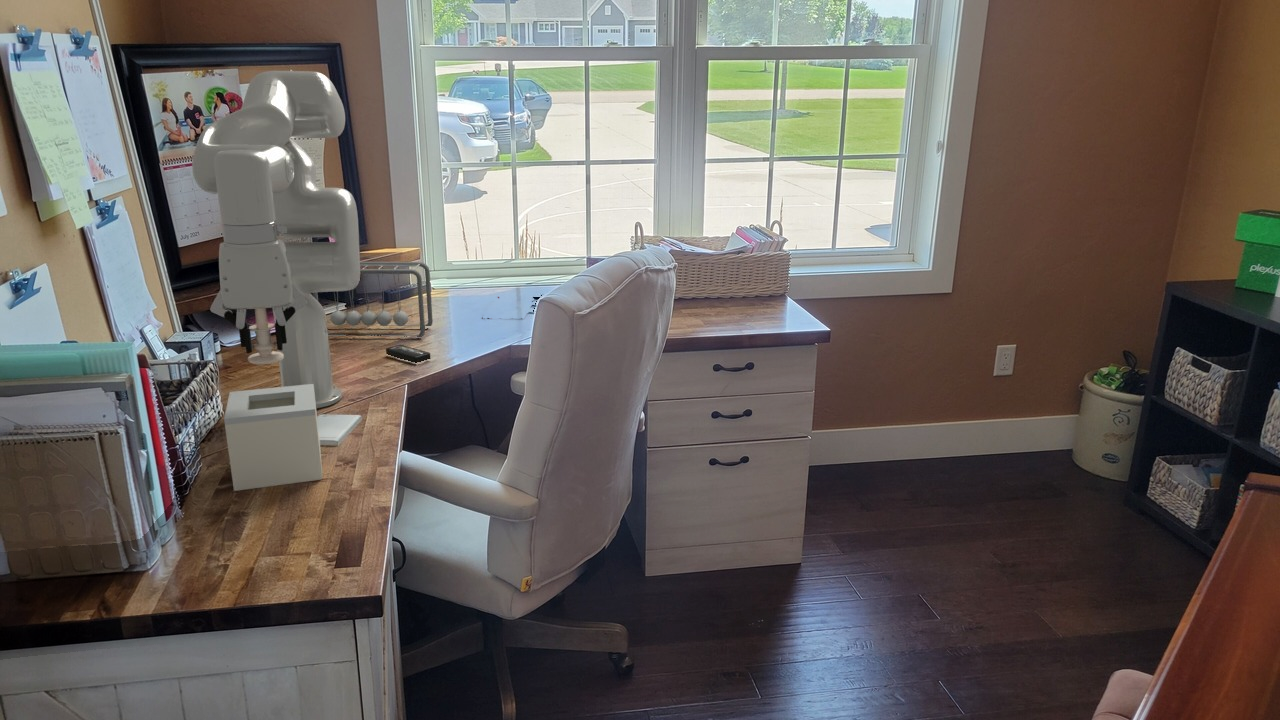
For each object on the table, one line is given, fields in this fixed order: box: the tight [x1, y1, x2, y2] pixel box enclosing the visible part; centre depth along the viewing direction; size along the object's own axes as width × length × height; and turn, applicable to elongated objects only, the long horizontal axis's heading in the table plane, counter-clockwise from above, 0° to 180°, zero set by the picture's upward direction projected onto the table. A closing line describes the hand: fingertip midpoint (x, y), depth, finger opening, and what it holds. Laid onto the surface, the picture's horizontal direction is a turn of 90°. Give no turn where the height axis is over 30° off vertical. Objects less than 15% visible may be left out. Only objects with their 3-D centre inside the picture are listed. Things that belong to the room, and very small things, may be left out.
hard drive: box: [317, 413, 363, 447], centre depth 161 cm, size 2×8×12 cm
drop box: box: [223, 384, 323, 492], centre depth 143 cm, size 13×13×12 cm
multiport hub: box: [385, 344, 431, 363], centre depth 204 cm, size 4×11×2 cm, turn 53°
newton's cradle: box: [312, 261, 434, 338], centre depth 222 cm, size 30×10×18 cm, turn 91°
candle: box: [247, 308, 284, 365], centre depth 138 cm, size 5×5×10 cm
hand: (264, 348), depth 139 cm, fingers closed on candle, 3 cm apart
